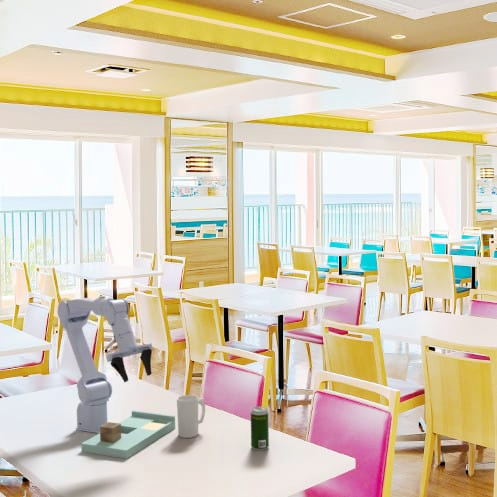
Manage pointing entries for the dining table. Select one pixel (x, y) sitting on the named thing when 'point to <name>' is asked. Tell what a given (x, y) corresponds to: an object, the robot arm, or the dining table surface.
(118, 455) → the board
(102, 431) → the walnut block
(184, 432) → the mug
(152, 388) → the dining table surface
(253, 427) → the beer can
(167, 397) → the dining table surface
